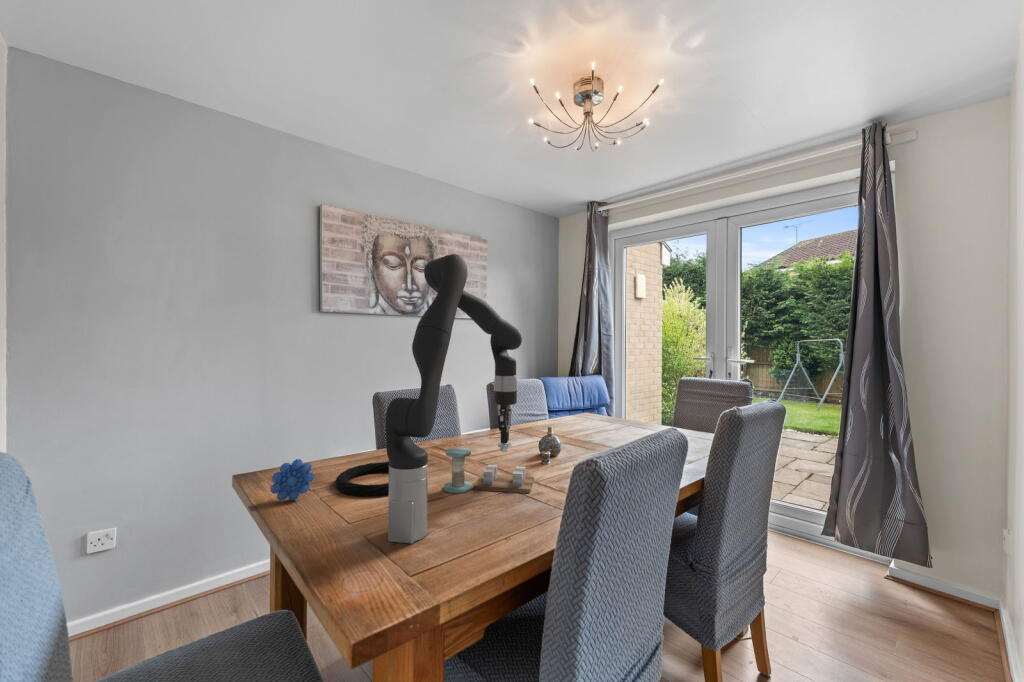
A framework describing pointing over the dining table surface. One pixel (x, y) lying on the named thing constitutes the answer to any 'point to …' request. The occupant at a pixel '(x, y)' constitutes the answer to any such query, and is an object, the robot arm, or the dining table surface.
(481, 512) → the dining table surface
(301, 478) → the blue flower
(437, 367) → the robot arm
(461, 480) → the bobbin
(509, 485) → the notch board
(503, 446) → the screw
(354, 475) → the cable lock
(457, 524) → the dining table surface
